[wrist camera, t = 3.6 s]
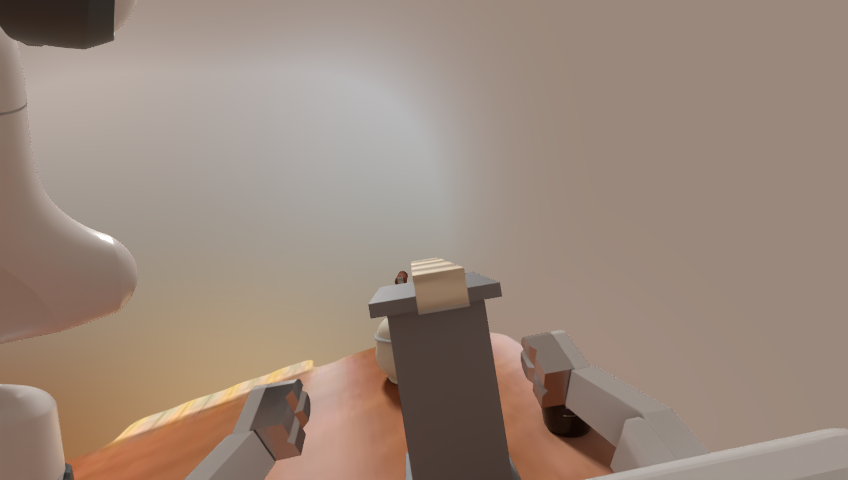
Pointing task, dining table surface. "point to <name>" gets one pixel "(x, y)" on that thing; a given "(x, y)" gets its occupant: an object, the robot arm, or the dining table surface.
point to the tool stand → (447, 385)
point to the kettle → (387, 342)
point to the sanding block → (439, 285)
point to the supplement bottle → (564, 421)
